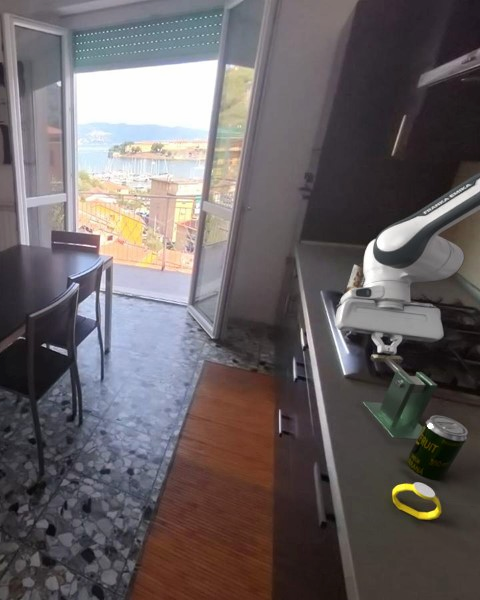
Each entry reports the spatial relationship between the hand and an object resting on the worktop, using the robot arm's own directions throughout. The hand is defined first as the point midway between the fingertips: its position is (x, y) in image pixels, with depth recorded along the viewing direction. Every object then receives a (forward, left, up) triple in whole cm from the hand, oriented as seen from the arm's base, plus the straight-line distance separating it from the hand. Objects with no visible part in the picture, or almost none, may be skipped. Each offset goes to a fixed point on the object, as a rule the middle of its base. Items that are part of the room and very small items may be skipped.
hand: (386, 353), depth 83 cm
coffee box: (-24, -51, -13) cm, 58 cm away
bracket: (0, +9, -13) cm, 16 cm away
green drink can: (+3, +22, -13) cm, 26 cm away
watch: (+11, +31, -13) cm, 36 cm away
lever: (0, +5, -3) cm, 6 cm away
